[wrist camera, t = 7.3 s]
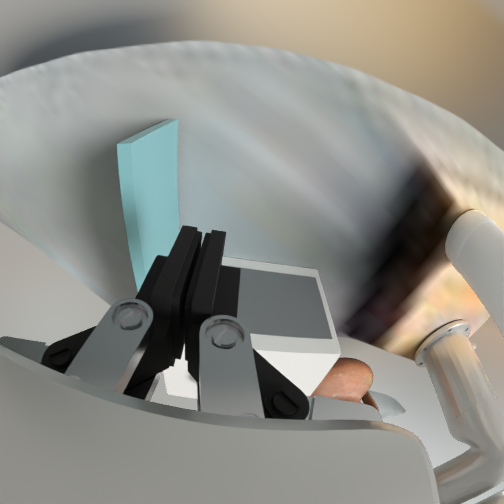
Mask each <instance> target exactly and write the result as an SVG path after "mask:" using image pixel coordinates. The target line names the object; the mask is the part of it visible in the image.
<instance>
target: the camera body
mask: <svg viewBox="0 0 504 504" xmlns="http://www.w3.org/2000/svg"><path fill="white" fill-rule="evenodd" d="M222 265H223V266H230V267H236V268H241V273H240V286H239V298H238V311H237V319H239V320H240V321H242V322H243V323H244V324H245V325H246V326H247V327H248V330H249V332H250V336H251V342H252V348H254V349H255V350H256V351H257V352H258V353H259V354H260V355H261V356H262V357H263V358H265V359H266V360H267V361H268V362H269V363H270V364H271V365H272V366H274V367H275V368H276V369H277V370H278V371H279V372H280V373H282V374H283V375H284V376H285V377H286V378H287V379H289V380H290V381H291V382H292V383H293V384H294V385H296V386H297V387H298V388H299V389H300V390H301V391H302V392H303V393H304V394H305V395H306V396H310V395H311V394H312V393H313V392H314V390H315V389H316V388H317V386H318V385H319V384H320V383H321V381H322V380H323V379H324V377H325V376H326V375H327V373H328V372H329V371H330V369H331V368H332V367H333V365H334V364H335V362H336V361H337V360H338V358H339V356H340V355H341V350H340V347H339V343H338V339H337V335H336V332H335V328H334V325H333V321H332V318H331V314H330V311H329V307H328V304H327V300H326V297H325V294H324V290H323V287H322V284H321V281H320V277H319V274H318V271H317V269H310V268H303V267H295V266H288V265H281V264H273V263H266V262H259V261H251V260H244V259H237V258H230V257H223V258H222ZM163 373H164V379H165V385H166V390H167V394H169V395H175V396H181V397H188V398H194V399H197V382H196V381H195V379H194V378H193V377H192V376H191V375H190V374H189V372H188V361H185V344H184V348H183V352H182V357H181V359H175V364H174V367H172V366H169V368H168V369H166V370H164V371H163Z"/></svg>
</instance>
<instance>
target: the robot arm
mask: <svg viewBox="0 0 504 504" xmlns="http://www.w3.org/2000/svg"><path fill="white" fill-rule="evenodd" d="M225 237H226V232H223V231H217V230H212V232H211V233H206V234H205V237H204V240H203V243H202V247H201V240H202V232H199V231H197V227H191V226H184V225H183V226H182V228H181V230H180V232H179V234H178V236H177V238H176V241H175V243H174V245H173V247H172V249H171V251H170V253H169V255H168V256H162V255H157V256H156V258H155V260H154V262H153V264H152V266H151V268H150V269H149V271H148V273H147V275H146V277H145V279H144V282H143V284H142V286H141V288H140V290H139V292H138V294H137V296H136V298H135V299H124V300H120V301H118V302H117V303H115V304H114V305H112V306H111V307H110V309H109V310H108V311H107V313H106V314H105V315H104V317H103V318H102V320H101V321H100V322H99V324H98V325H97V326H95V327H92V328H90V329H87V330H85V331H83V332H80V333H78V334H75V335H72V336H70V337H68V338H65V339H62V340H60V341H57V342H55V343H53V344H52V345H50V346H48V345H47V344H46V343H45V342H38V341H31V340H25V339H19V338H13V337H1V338H0V504H461V503H463V502H466V501H468V500H470V499H472V498H475V497H477V496H478V495H481V494H482V493H484V492H486V491H488V490H490V489H492V488H493V487H495V486H497V485H498V484H500V483H501V482H503V481H504V415H503V413H502V411H501V408H500V406H499V403H498V401H497V398H496V396H495V394H494V392H493V389H492V387H491V385H490V382H489V380H488V378H487V376H486V374H485V372H484V369H483V367H482V365H481V363H480V361H479V359H478V357H477V355H476V354H475V352H474V350H475V349H476V344H471V343H470V341H469V339H468V336H469V334H470V326H469V324H468V322H466V321H464V320H458V321H454V322H452V323H449V324H447V325H445V326H443V327H442V328H440V329H438V330H437V331H436V332H434V333H433V334H432V335H430V336H429V337H428V338H427V339H426V340H425V341H424V342H423V343H422V344H421V345H420V346H419V348H418V349H417V351H416V353H415V356H414V360H415V363H416V365H417V366H420V367H426V368H427V371H428V373H429V375H430V378H431V381H432V383H433V386H434V388H435V391H436V393H437V396H438V399H439V402H440V404H441V407H442V410H443V413H444V416H445V419H446V422H447V425H448V428H449V431H450V433H451V435H452V436H453V437H454V438H455V439H456V440H458V441H460V442H463V443H466V444H468V445H470V446H471V448H470V449H469V450H467V451H466V452H464V453H463V454H461V455H459V456H458V457H456V458H454V459H452V460H450V461H448V462H446V463H444V464H442V465H440V466H438V467H436V468H434V469H433V468H432V465H431V461H430V459H429V456H428V453H427V451H426V448H425V446H424V445H423V443H422V441H421V440H420V439H419V438H418V437H417V436H416V435H415V434H413V433H412V432H410V431H408V430H406V429H404V428H401V427H398V426H395V425H392V424H388V423H383V421H382V416H381V415H380V413H379V411H378V410H377V409H375V408H374V407H373V406H370V405H367V404H361V403H355V402H349V401H343V400H338V399H333V398H328V397H323V396H318V395H315V396H314V397H310V396H306V395H305V394H304V393H303V392H302V391H301V390H300V389H299V388H298V387H297V386H296V385H294V384H293V383H292V382H291V381H290V380H289V379H287V378H286V377H285V376H284V375H283V374H282V373H280V372H279V371H278V370H277V369H276V368H275V367H274V366H272V365H271V364H270V363H269V362H268V361H267V360H266V359H265V358H263V357H262V356H261V355H260V354H259V353H258V352H257V351H256V350H255V349H254V348H252V342H251V336H250V332H249V330H248V327H247V326H246V325H245V324H244V323H243V322H242V321H240V320H239V319H237V311H238V298H239V286H240V273H241V268H236V267H230V266H223V265H222V258H223V251H224V244H225ZM184 344H185V361H188V372H189V374H190V375H191V376H192V377H193V378H194V379H195V381H196V382H197V403H198V404H197V406H198V411H195V410H189V409H183V408H178V407H173V406H168V405H163V404H158V403H154V402H150V399H151V397H152V395H153V393H154V390H155V388H156V386H157V384H158V381H159V379H160V375H161V372H162V371H164V370H166V369H168V368H169V366H172V367H174V364H175V359H181V357H182V352H183V348H184ZM476 504H504V490H502V491H500V492H498V493H496V494H494V495H492V496H490V497H488V498H486V499H484V500H482V501H480V502H478V503H476Z"/></svg>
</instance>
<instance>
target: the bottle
mask: <svg viewBox="0 0 504 504" xmlns="http://www.w3.org/2000/svg"><path fill="white" fill-rule="evenodd" d="M445 253H446V255H447V257H448V259H449V260H450V261H451V262H452V265H453V266H454V267H455V269H456V270H457V271H458V272H459V273H460V274H461V275H462V276H463V278H464V279H465V280H466V281H467V283H468V284H469V285H470V287H471V288H472V290H473V291H474V292H475V294H476V295H477V296H478V298H479V299H480V301H481V302H482V304H483V305H484V306H485V308H486V309H487V311H488V312H489V314H490V315H491V317H492V318H493V320H494V322H495V323H496V325H497V326H498V328H499V330H500V331H501V333H502V334H503V336H504V231H503V230H502V229H501V228H499V227H498V226H497V225H496V224H495V222H494V221H493V220H492V219H491V218H489V217H488V216H487V215H485V214H483V213H482V212H481V211H479V210H475V209H473V210H470V211H467V212H465V213H464V214H462V215H461V216H460V217H459V218H458V219H457V220H456V221H455V222H454V224H453V225H452V227H451V229H450V231H449V233H448V235H447V239H446V242H445Z"/></svg>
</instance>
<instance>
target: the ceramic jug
mask: <svg viewBox="0 0 504 504" xmlns="http://www.w3.org/2000/svg"><path fill="white" fill-rule="evenodd" d="M372 382H373V373H372V370H371V369H370V367H369V366H368V365H367V364H366V363H364V362H362V361H360V360H357V359H353V358H338V360H337V361H336V362H335V364H334V365H333V367H332V368H331V369H330V371H329V372H328V373H327V375H326V376H325V377H324V379H323V380H322V381H321V383H320V384H319V385H318V386H317V388H316V389H315V390H314V392H313V393H312V394H311V395H310V397H314V396H315V395H318V396H323V397H328V398H333V399H338V400H343V401H349V402H355V403H361V402H360V400H361V399H362V401H363V403H364V404H367V405H370V406H373V407H374V408H375V409H377V410H378V411H379V409H378V407H377V405H376V403H375V401H374V400H373V398H372V397H371V396H370V394H369V393H368V390H369V389H370V387H371V384H372ZM361 404H362V403H361Z"/></svg>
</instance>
